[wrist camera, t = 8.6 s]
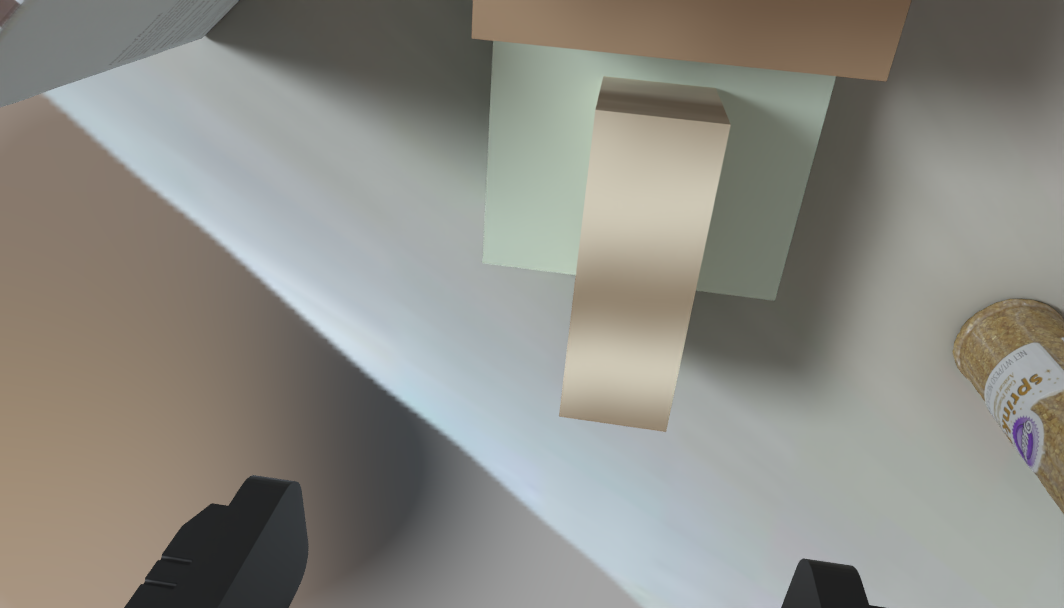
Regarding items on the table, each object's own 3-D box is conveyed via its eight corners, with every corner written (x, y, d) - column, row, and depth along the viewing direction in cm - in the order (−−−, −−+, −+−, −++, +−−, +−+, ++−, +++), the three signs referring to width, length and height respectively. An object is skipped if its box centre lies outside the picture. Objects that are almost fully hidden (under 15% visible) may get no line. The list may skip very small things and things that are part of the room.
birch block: (603, 75, 26) (595, 109, 22) (715, 88, 26) (730, 124, 21) (570, 346, 32) (559, 416, 27) (662, 358, 31) (666, 431, 27)
